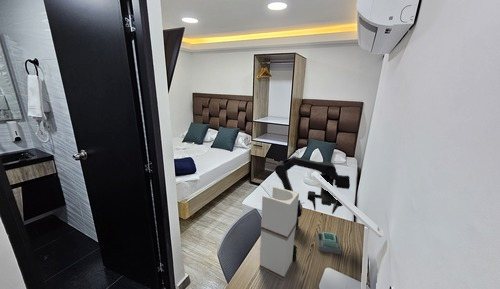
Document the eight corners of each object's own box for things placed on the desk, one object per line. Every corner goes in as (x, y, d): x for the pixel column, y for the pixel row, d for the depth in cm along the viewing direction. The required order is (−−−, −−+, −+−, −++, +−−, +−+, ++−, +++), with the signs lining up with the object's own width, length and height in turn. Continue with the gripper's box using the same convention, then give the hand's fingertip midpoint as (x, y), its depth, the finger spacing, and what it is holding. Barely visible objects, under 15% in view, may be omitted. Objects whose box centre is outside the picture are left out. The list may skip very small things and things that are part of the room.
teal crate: (322, 247, 101) (323, 239, 100) (321, 239, 107) (322, 231, 106) (335, 250, 100) (336, 241, 99) (333, 242, 105) (334, 233, 104)
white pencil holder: (292, 263, 92) (298, 193, 83) (283, 280, 83) (289, 204, 74) (269, 252, 97) (273, 186, 89) (259, 268, 89) (262, 196, 80)
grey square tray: (318, 251, 100) (319, 246, 99) (316, 237, 109) (317, 232, 109) (340, 255, 97) (341, 250, 97) (336, 240, 107) (337, 235, 107)
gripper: (308, 189, 103) (305, 216, 106) (348, 196, 97) (344, 224, 101) (309, 181, 113) (306, 205, 117) (345, 186, 108) (341, 212, 112)
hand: (323, 211), depth 111 cm, fingers open, 9 cm apart
